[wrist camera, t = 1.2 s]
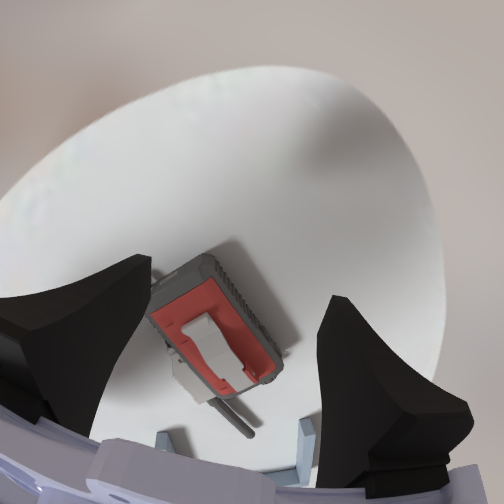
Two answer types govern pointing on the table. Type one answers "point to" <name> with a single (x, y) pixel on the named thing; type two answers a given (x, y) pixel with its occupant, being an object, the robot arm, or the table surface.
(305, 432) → the grey pronged cradle
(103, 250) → the table surface
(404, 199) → the table surface
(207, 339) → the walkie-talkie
